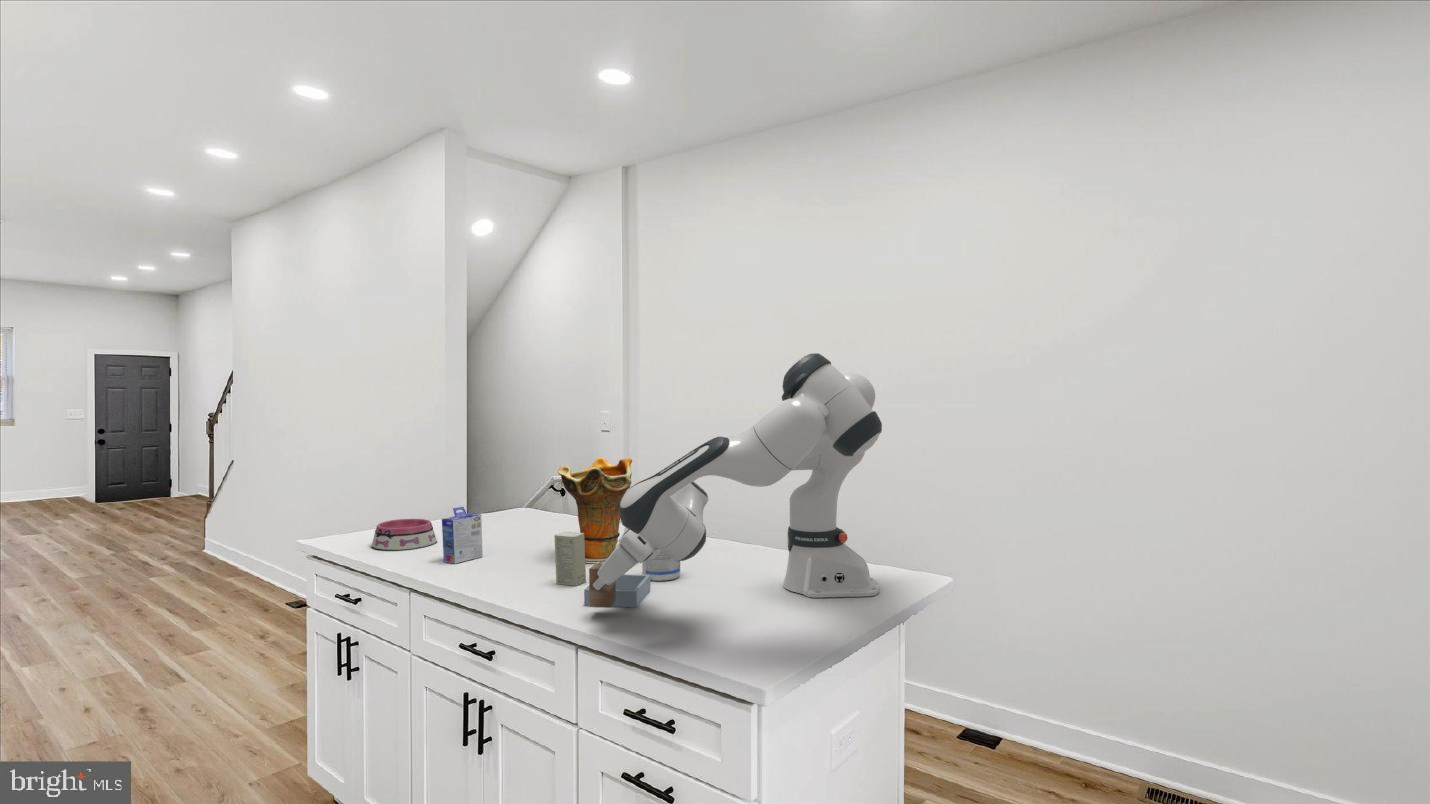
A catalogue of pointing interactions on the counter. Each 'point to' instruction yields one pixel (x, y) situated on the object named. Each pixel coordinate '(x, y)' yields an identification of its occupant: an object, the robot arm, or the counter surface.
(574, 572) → the skincare box
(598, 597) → the walnut block
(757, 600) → the counter surface
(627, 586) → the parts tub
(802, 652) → the counter surface
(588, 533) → the decorative vase
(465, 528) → the ink cartridge box
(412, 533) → the dog bowl
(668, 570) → the supplement tub
